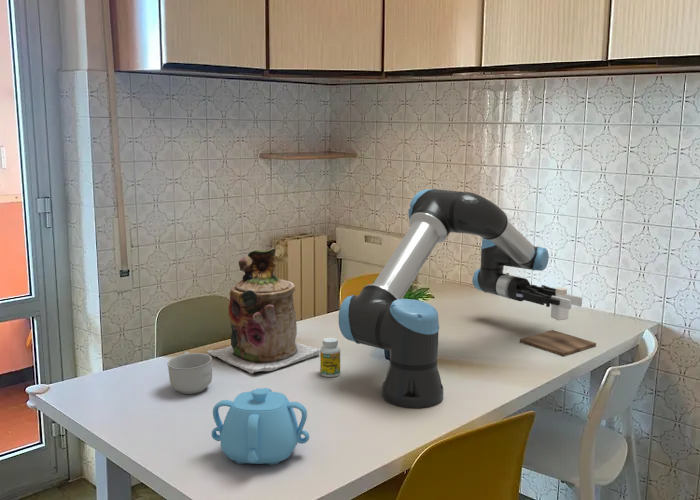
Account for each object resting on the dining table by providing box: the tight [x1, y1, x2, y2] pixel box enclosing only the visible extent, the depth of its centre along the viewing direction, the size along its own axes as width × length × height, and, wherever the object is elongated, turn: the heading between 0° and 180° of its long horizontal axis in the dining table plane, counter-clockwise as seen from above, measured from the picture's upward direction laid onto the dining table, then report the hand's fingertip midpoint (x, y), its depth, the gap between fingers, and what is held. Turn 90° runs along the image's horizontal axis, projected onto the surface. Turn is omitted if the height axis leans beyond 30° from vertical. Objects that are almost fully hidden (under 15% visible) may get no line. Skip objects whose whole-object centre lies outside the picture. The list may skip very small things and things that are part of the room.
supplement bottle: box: [319, 337, 341, 378], centre depth 182 cm, size 5×5×10 cm
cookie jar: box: [206, 247, 321, 374], centre depth 194 cm, size 25×25×32 cm
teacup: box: [166, 351, 213, 395], centre depth 172 cm, size 14×11×8 cm
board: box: [519, 329, 597, 357], centre depth 209 cm, size 16×16×1 cm
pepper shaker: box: [550, 286, 570, 321], centre depth 207 cm, size 4×4×10 cm
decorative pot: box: [211, 387, 310, 466], centre depth 138 cm, size 16×16×14 cm
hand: (575, 303), depth 202 cm, fingers closed on pepper shaker, 5 cm apart
